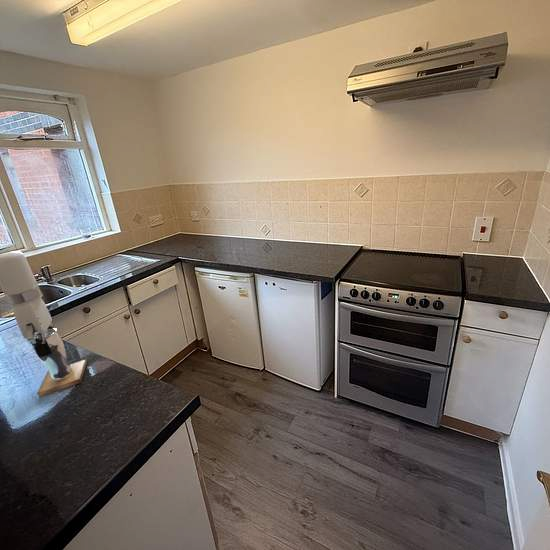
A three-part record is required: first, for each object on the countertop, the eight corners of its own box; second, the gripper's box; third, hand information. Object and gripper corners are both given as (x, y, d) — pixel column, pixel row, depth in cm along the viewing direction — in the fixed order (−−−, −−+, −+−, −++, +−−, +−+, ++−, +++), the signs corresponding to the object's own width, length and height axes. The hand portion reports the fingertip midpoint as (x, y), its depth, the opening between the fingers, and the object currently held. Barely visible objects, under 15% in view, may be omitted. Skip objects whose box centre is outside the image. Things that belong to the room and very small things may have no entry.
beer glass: (62, 383, 90) (42, 341, 84) (44, 382, 91) (22, 341, 86) (80, 367, 96) (62, 327, 91) (62, 367, 98) (43, 328, 92)
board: (39, 396, 88) (37, 392, 87) (49, 374, 97) (47, 371, 97) (81, 382, 91) (79, 378, 91) (86, 363, 101) (85, 359, 100)
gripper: (19, 289, 90) (43, 338, 96) (-5, 311, 75) (25, 368, 81) (48, 282, 92) (70, 331, 99) (30, 303, 77) (56, 359, 84)
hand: (49, 347), depth 90 cm, fingers open, 7 cm apart
